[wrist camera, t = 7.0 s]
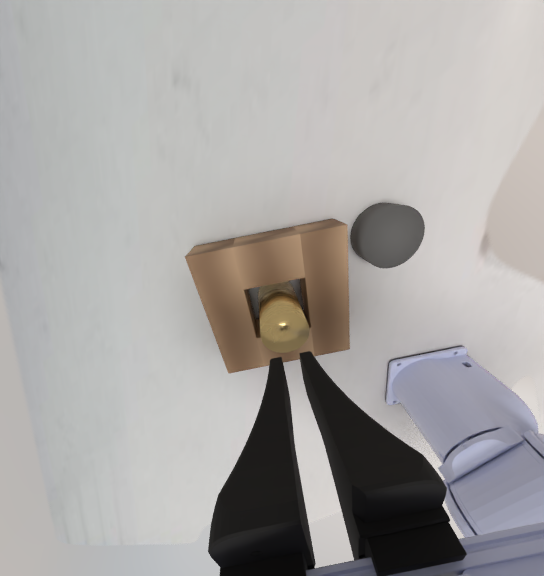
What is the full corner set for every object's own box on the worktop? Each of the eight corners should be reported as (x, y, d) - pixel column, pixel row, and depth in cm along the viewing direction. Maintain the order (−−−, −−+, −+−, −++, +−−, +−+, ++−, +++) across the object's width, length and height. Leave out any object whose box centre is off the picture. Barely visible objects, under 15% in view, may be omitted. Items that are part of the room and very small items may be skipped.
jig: (333, 218, 18) (347, 224, 16) (338, 330, 24) (349, 349, 21) (194, 246, 18) (185, 256, 16) (231, 351, 24) (228, 373, 21)
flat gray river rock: (406, 197, 18) (428, 198, 16) (401, 253, 21) (420, 261, 18) (349, 209, 18) (362, 212, 16) (350, 263, 21) (362, 273, 18)
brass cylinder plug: (291, 274, 20) (305, 307, 15) (297, 306, 22) (312, 346, 17) (253, 283, 20) (255, 319, 15) (262, 314, 22) (266, 357, 17)
